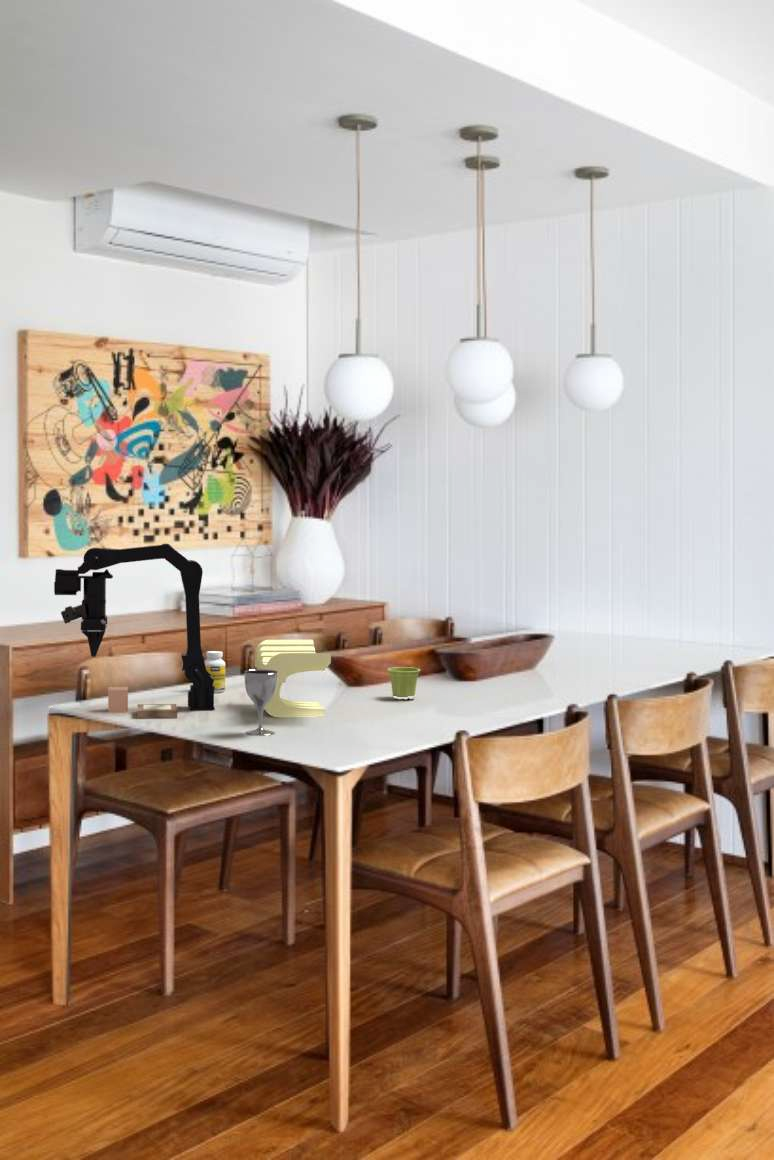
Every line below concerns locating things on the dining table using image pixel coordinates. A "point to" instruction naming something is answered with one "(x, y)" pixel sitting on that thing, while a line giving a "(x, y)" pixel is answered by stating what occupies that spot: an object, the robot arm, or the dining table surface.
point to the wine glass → (260, 693)
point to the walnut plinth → (156, 711)
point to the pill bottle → (216, 669)
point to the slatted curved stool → (290, 672)
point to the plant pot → (403, 681)
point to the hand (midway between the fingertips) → (94, 654)
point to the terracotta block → (118, 699)
